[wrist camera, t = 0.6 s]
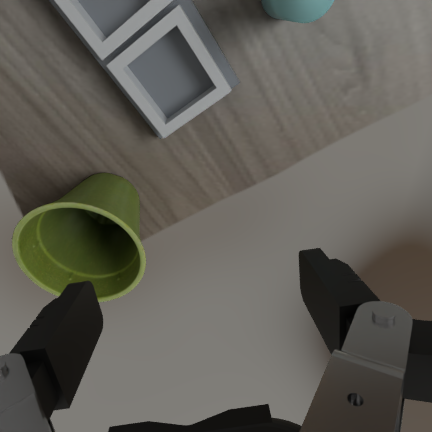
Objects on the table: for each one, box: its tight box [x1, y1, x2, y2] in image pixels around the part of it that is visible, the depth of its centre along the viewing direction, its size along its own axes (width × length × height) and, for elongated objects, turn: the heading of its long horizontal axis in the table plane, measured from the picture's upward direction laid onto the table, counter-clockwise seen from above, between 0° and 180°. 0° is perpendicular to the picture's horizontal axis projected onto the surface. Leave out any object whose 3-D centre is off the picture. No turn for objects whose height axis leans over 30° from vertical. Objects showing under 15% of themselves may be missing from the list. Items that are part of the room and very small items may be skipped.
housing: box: [49, 0, 240, 139], centre depth 28 cm, size 17×10×3 cm, turn 34°
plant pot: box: [12, 173, 146, 302], centre depth 34 cm, size 12×12×11 cm
